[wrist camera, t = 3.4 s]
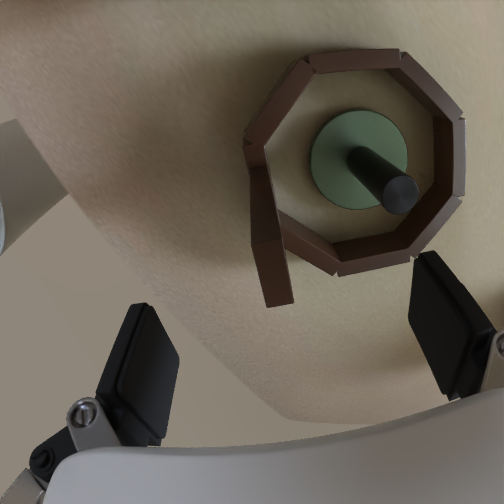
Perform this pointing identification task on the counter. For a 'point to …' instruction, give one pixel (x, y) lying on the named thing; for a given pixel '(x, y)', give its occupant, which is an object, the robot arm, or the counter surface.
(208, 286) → the counter surface
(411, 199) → the post
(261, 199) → the ring
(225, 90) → the counter surface
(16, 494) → the robot arm
